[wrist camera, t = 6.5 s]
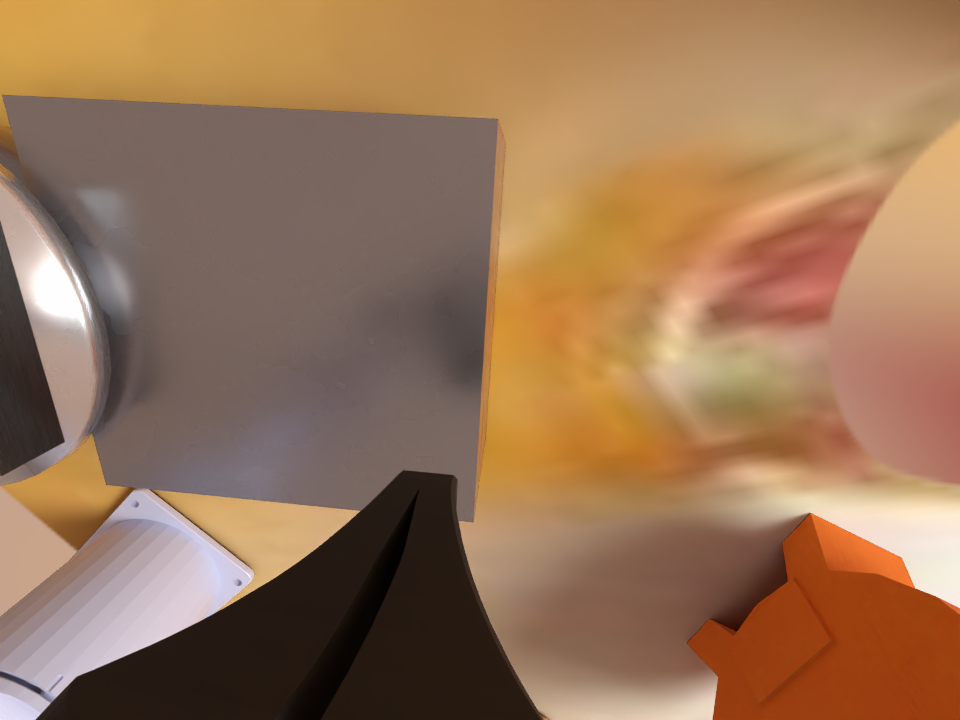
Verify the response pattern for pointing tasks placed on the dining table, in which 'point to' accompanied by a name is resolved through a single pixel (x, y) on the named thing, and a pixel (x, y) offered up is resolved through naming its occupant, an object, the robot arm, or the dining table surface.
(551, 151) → the dining table surface
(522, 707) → the robot arm
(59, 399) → the lid
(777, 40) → the dining table surface
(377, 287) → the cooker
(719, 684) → the orange lumpy piece
